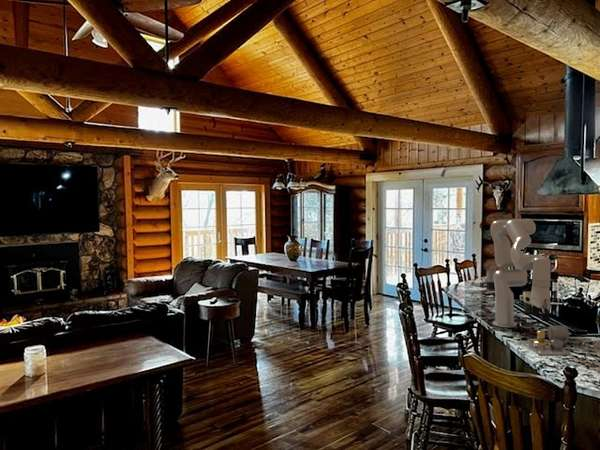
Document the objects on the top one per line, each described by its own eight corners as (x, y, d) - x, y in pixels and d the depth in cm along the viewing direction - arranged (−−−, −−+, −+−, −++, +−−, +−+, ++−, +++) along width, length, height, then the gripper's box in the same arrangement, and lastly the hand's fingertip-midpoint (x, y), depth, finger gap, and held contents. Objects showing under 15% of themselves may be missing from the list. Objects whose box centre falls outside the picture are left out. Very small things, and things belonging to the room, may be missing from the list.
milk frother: (497, 290, 350) (497, 271, 349) (476, 288, 359) (476, 270, 358) (500, 287, 362) (500, 269, 361) (480, 285, 371) (480, 268, 370)
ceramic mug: (546, 337, 229) (546, 323, 228) (564, 338, 227) (564, 323, 226) (553, 344, 218) (553, 329, 218) (571, 345, 216) (572, 329, 216)
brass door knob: (530, 342, 217) (530, 329, 217) (544, 342, 217) (544, 329, 217) (537, 347, 210) (537, 333, 210) (552, 347, 210) (552, 333, 210)
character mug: (520, 314, 277) (520, 293, 276) (518, 311, 284) (518, 291, 283) (540, 314, 274) (540, 294, 273) (537, 312, 280) (537, 291, 280)
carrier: (521, 343, 221) (521, 333, 220) (550, 343, 220) (550, 333, 220) (538, 355, 204) (538, 344, 203) (569, 354, 203) (569, 344, 203)
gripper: (524, 279, 221) (524, 313, 223) (542, 287, 204) (541, 323, 205) (540, 279, 221) (539, 313, 222) (558, 287, 204) (557, 323, 205)
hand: (540, 318), depth 214 cm, fingers open, 9 cm apart
